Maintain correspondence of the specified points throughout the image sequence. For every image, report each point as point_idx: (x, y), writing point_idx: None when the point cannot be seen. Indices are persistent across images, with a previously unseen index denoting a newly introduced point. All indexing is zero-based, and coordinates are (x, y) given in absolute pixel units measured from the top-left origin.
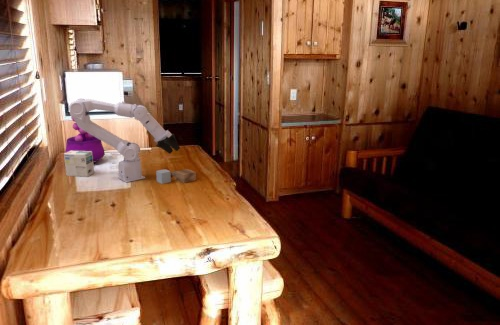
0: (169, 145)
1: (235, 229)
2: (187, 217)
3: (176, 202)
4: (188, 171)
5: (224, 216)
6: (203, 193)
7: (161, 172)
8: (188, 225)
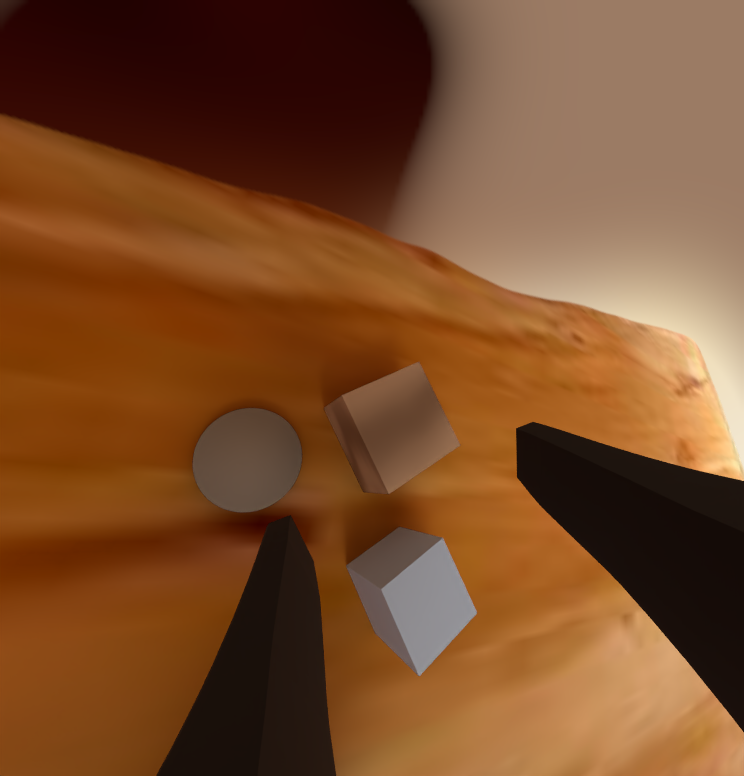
0: (275, 622)
1: (693, 392)
2: None
3: None
4: (401, 401)
5: (658, 391)
6: (543, 396)
7: (461, 615)
8: None
